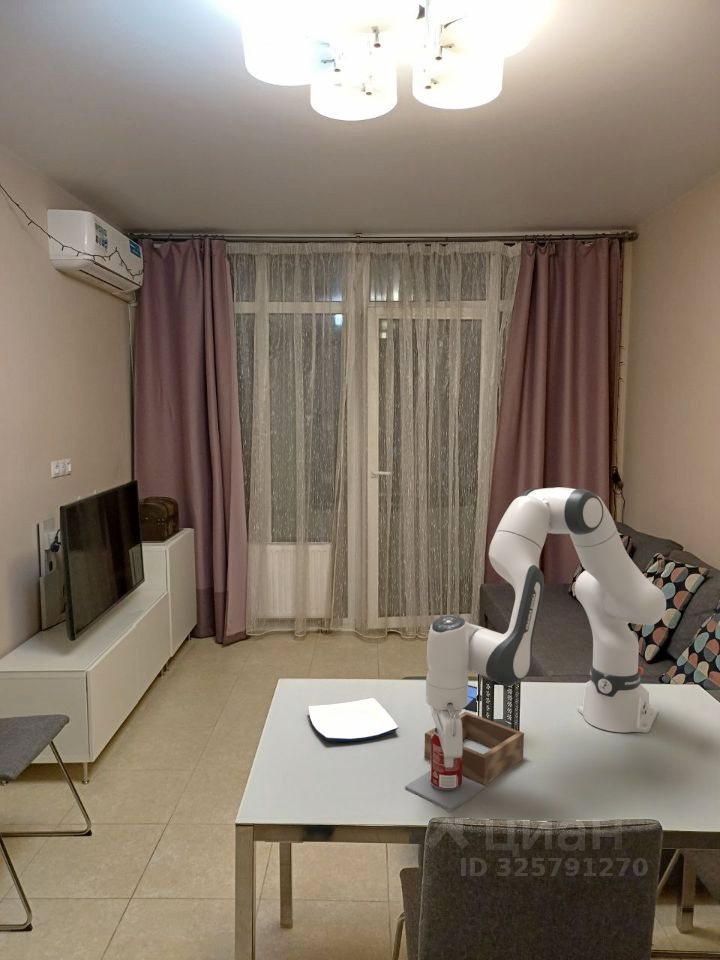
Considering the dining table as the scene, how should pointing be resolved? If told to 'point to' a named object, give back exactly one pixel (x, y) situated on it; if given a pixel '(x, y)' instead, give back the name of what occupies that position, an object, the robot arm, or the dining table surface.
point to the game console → (471, 699)
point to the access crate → (491, 734)
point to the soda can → (439, 773)
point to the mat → (442, 797)
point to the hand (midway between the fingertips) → (445, 756)
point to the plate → (351, 720)
